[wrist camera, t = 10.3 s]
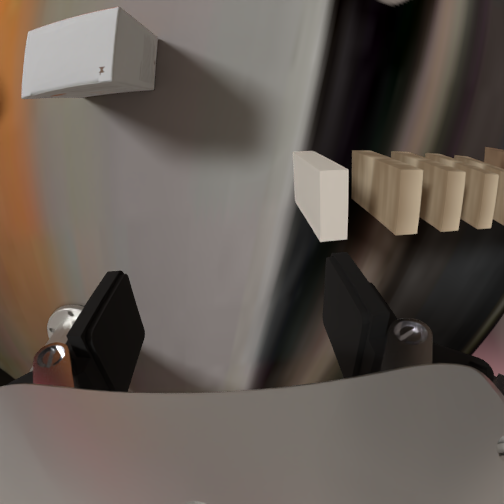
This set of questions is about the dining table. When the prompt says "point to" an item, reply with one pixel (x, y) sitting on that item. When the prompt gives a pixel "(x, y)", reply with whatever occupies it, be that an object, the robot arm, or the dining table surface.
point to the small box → (89, 56)
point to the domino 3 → (438, 191)
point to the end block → (494, 157)
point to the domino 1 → (322, 194)
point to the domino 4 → (474, 191)
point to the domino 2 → (387, 190)
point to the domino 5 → (503, 197)
